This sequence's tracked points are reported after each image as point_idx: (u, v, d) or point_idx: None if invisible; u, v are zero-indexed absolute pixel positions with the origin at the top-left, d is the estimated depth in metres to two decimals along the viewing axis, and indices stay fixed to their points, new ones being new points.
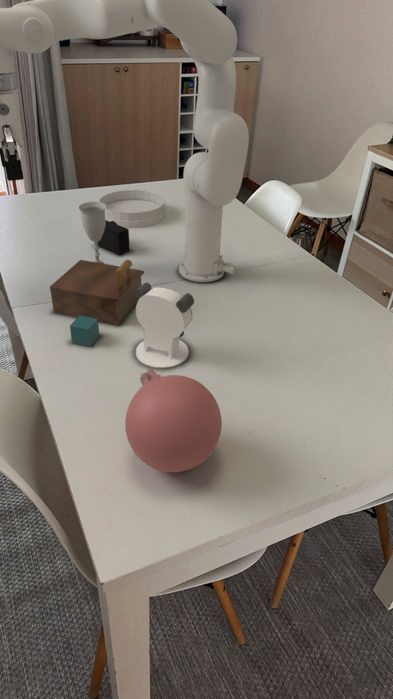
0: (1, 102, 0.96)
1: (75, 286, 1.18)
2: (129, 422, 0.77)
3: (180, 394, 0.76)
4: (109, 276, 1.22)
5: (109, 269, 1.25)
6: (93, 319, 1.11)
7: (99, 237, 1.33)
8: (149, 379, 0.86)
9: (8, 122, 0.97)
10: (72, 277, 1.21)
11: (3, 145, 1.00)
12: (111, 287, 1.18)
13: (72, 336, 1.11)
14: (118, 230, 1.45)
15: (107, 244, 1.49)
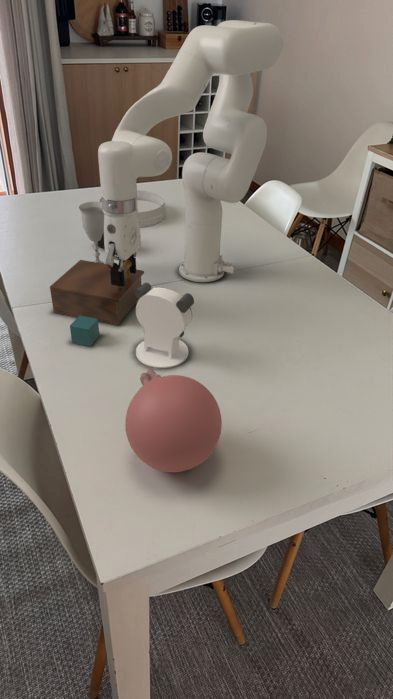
0: (110, 223, 1.07)
1: (75, 286, 1.18)
2: (129, 422, 0.77)
3: (180, 394, 0.76)
4: (109, 276, 1.22)
5: None
6: (93, 319, 1.11)
7: (99, 237, 1.33)
8: (149, 379, 0.86)
9: (113, 240, 1.08)
10: (72, 277, 1.21)
11: None
12: (111, 287, 1.18)
13: (72, 336, 1.11)
14: None
15: None
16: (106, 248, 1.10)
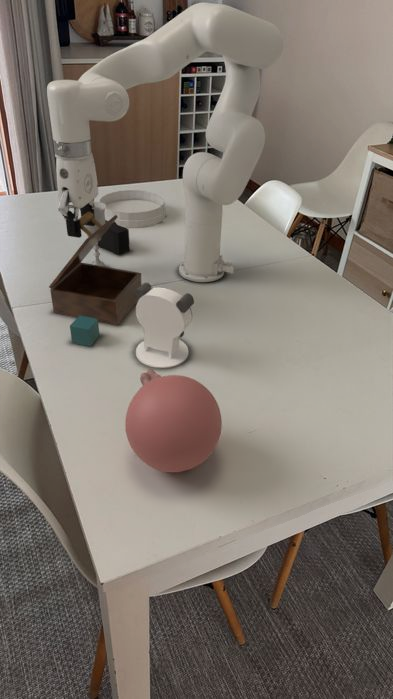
0: (63, 167, 1.03)
1: None
2: (129, 422, 0.77)
3: (180, 394, 0.76)
4: None
5: None
6: (93, 319, 1.11)
7: None
8: (149, 379, 0.86)
9: (67, 185, 1.04)
10: None
11: None
12: None
13: (72, 336, 1.11)
14: (118, 230, 1.45)
15: (107, 244, 1.49)
16: (60, 195, 1.06)
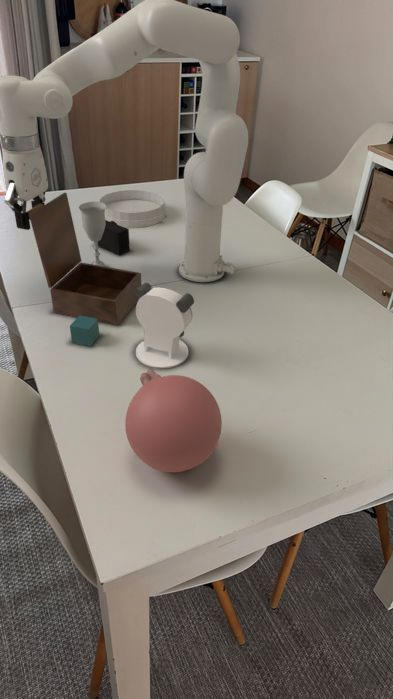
0: (8, 160, 1.05)
1: None
2: (129, 422, 0.77)
3: (180, 394, 0.76)
4: None
5: None
6: (93, 319, 1.11)
7: (99, 237, 1.33)
8: (149, 379, 0.86)
9: (13, 178, 1.07)
10: None
11: None
12: None
13: (72, 336, 1.11)
14: (118, 230, 1.45)
15: (107, 244, 1.49)
16: (7, 187, 1.09)
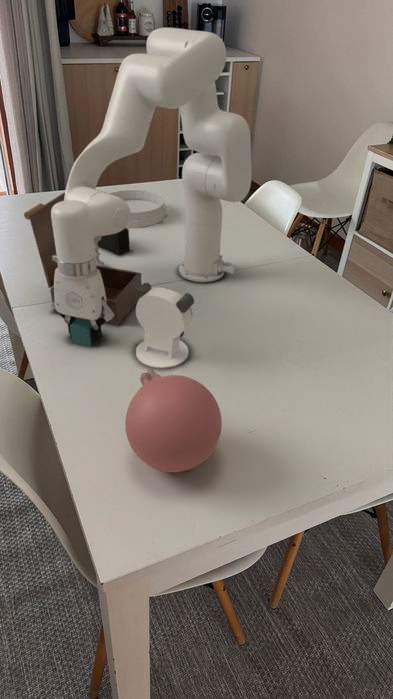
0: None
1: None
2: (129, 422, 0.77)
3: (180, 394, 0.76)
4: None
5: None
6: None
7: (99, 237, 1.33)
8: (149, 379, 0.86)
9: None
10: None
11: None
12: None
13: (72, 336, 1.11)
14: None
15: (107, 244, 1.49)
16: None
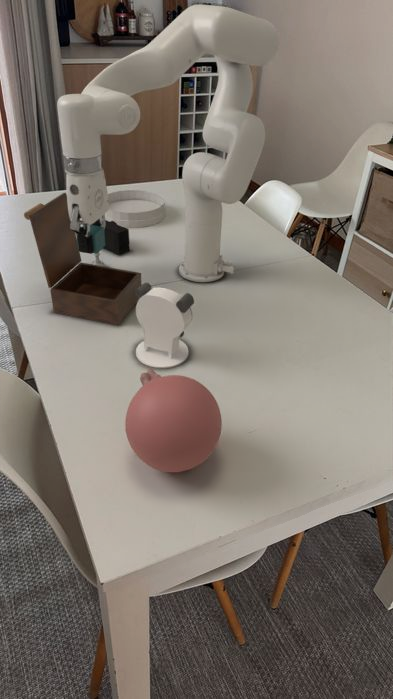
0: (73, 183, 1.00)
1: None
2: (129, 422, 0.77)
3: (180, 394, 0.76)
4: None
5: None
6: None
7: None
8: (149, 379, 0.86)
9: (77, 201, 1.01)
10: None
11: None
12: None
13: (96, 245, 1.10)
14: (118, 230, 1.45)
15: (107, 244, 1.49)
16: (70, 211, 1.03)
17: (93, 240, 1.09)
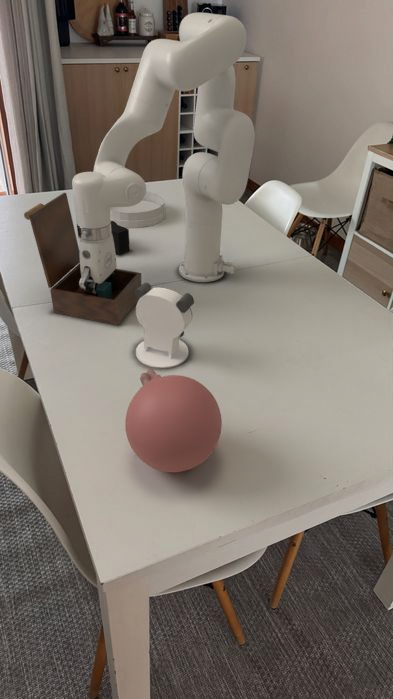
0: (85, 249, 1.12)
1: None
2: (129, 422, 0.77)
3: (180, 394, 0.76)
4: None
5: None
6: None
7: None
8: (149, 379, 0.86)
9: (89, 264, 1.14)
10: None
11: None
12: None
13: None
14: (118, 230, 1.45)
15: None
16: (82, 272, 1.15)
17: (101, 295, 1.21)
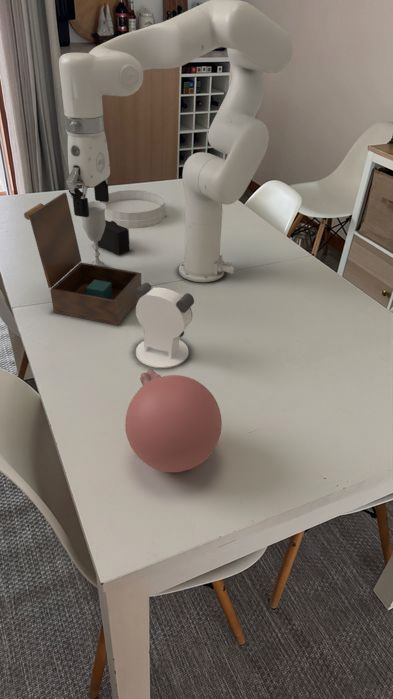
0: (74, 144, 0.99)
1: None
2: (129, 422, 0.77)
3: (180, 394, 0.76)
4: None
5: None
6: (94, 281, 1.24)
7: (99, 237, 1.33)
8: (149, 379, 0.86)
9: (78, 163, 1.01)
10: None
11: None
12: None
13: None
14: (118, 230, 1.45)
15: (107, 244, 1.49)
16: None
17: (101, 295, 1.21)
